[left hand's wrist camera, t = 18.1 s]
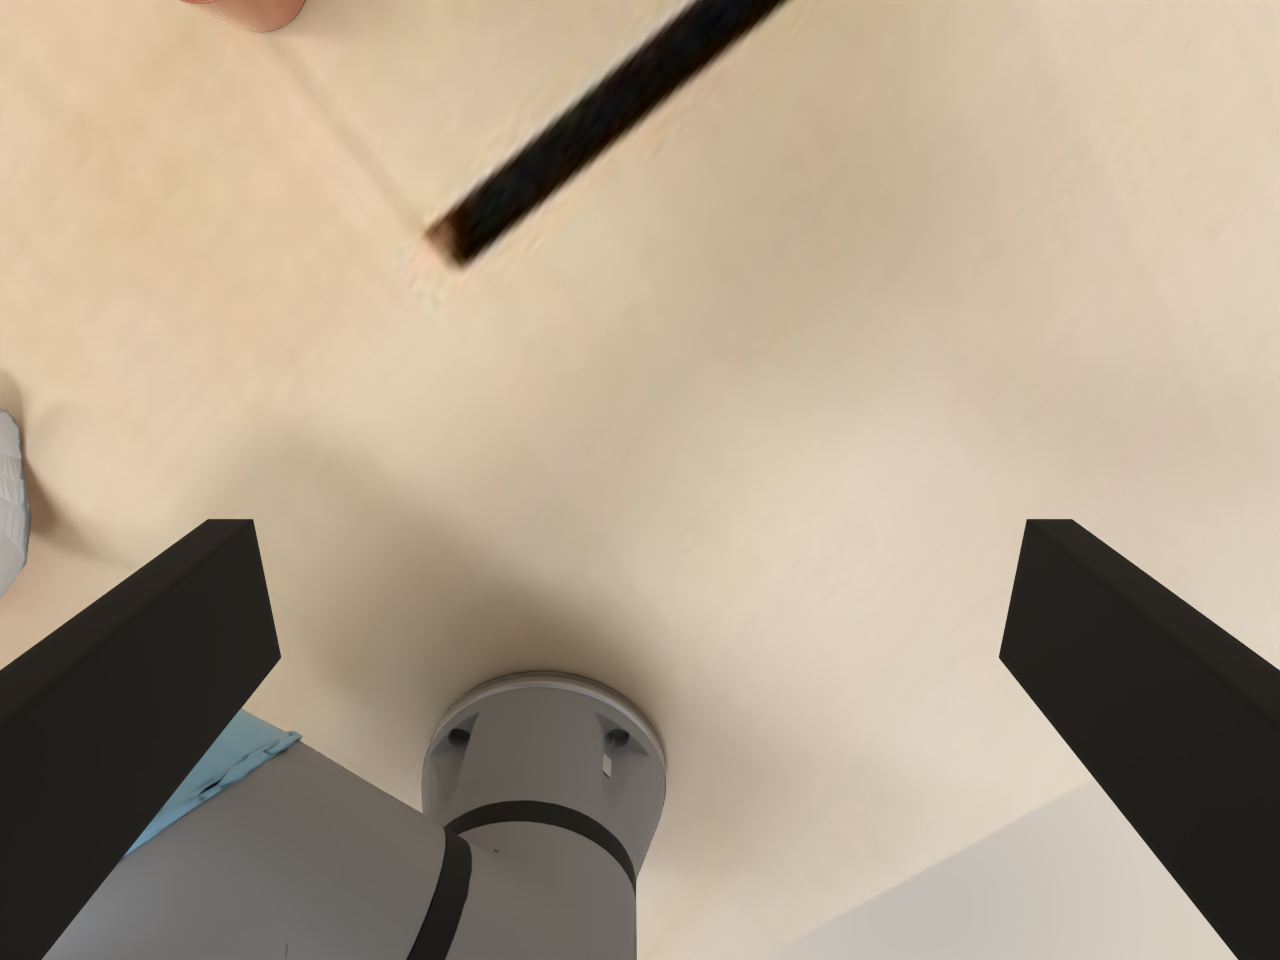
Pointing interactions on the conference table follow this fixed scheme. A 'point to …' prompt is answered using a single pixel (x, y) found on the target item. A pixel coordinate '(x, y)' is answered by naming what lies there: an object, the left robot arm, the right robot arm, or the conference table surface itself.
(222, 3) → the glossy pink cylinder
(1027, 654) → the left robot arm
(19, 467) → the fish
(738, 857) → the conference table surface
